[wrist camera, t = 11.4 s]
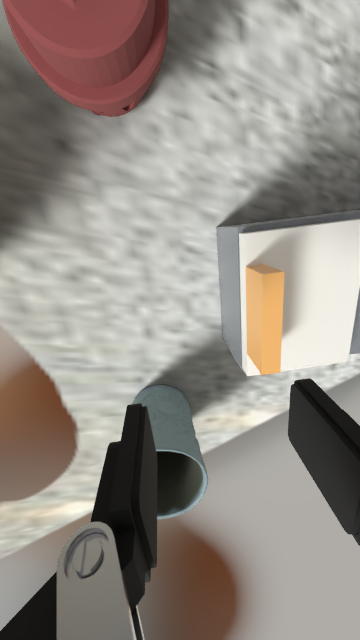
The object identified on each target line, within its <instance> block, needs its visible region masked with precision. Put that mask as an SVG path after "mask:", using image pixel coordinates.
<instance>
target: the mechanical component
mask: <svg viewBox="0 0 360 640" xmlns="http://www.w3.org/2000/svg"><path fill="white" fill-rule="evenodd" d="M3 5H4V9H5V12H6V16H7V19H8V22H9V25H10V27H11V30H12V32H13V35H14V37H15V39H16V41H17V43H18V45H19V47H20V49H21V50H22V52H23V53H24V55H25V57H26V58H27V60H28V61H29V63H30V64H31V65H32V67H33V68H34V69H35V70H36V72H37V73H38V74H39V75H40V77H41V78H42V79H43V80H44V81H45V82H46V84H47V85H48V86H49V87H50V88H51V89H52V90H53V91H55V92H56V93H57V94H58V95H59V96H61V97H62V98H64V99H65V100H67V101H68V102H70V103H72V104H74V105H76V106H78V107H80V108H83V109H87V110H90V111H92V112H93V113H94V114H96V115H105V116H110V117H112V116H120V115H124V114H126V113H128V112H130V111H131V110H132V109H134V108H135V107H136V106H137V104H138V103H139V102H140V101H141V99H142V97H143V95H144V93H145V92H146V91H147V89H148V88H149V87H150V86H151V84H152V82H153V81H154V79H155V77H156V76H157V74H158V71H159V69H160V66H161V64H162V61H163V57H164V54H165V49H166V43H167V32H168V0H3Z"/></svg>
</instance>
